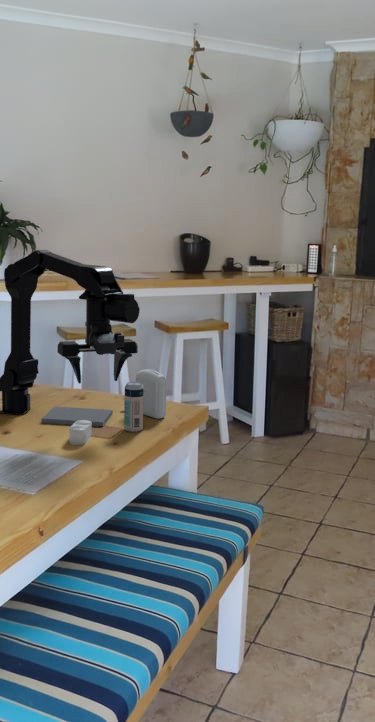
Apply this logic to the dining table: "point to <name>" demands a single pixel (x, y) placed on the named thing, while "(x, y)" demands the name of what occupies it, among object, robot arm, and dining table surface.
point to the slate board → (77, 415)
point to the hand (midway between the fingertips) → (97, 382)
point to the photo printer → (153, 393)
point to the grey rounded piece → (80, 432)
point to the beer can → (133, 407)
